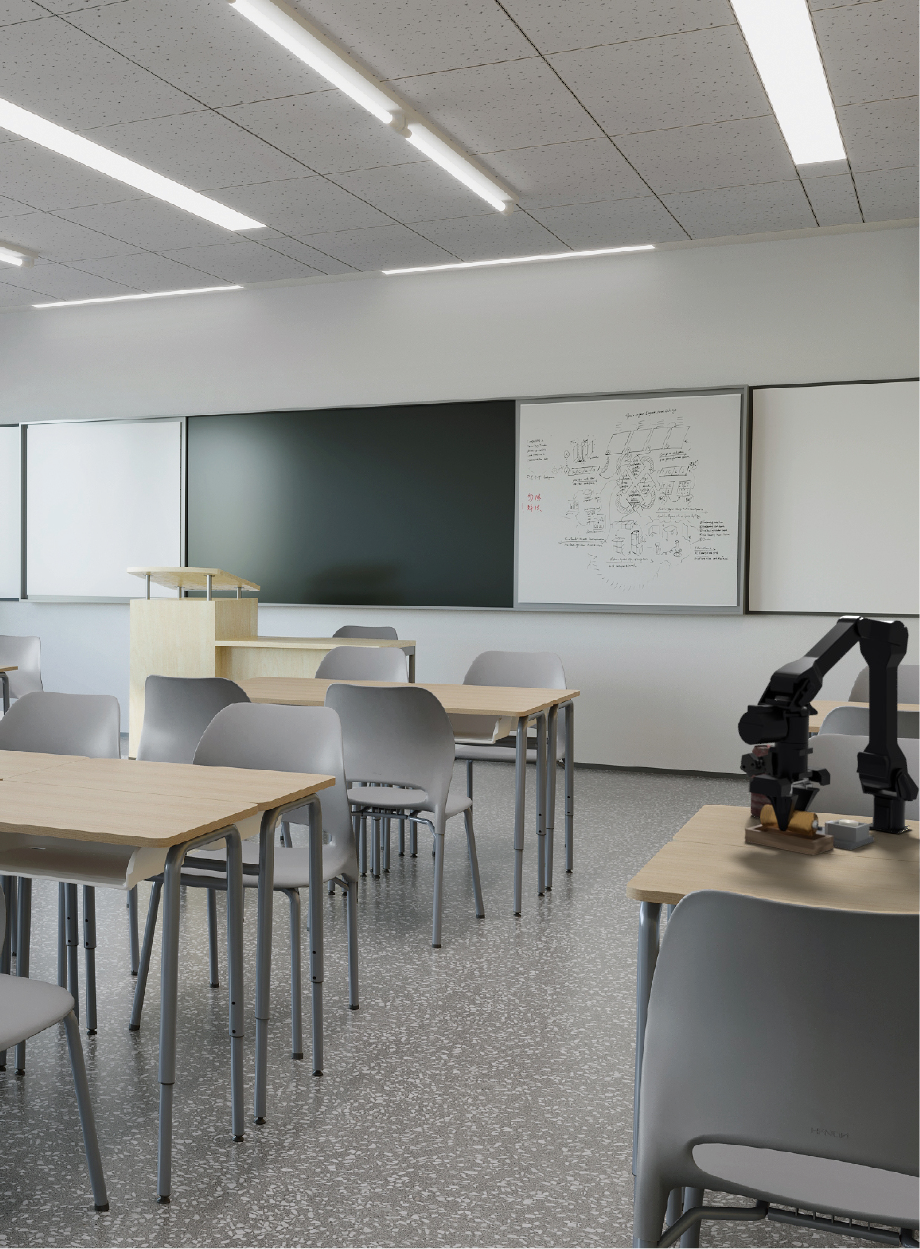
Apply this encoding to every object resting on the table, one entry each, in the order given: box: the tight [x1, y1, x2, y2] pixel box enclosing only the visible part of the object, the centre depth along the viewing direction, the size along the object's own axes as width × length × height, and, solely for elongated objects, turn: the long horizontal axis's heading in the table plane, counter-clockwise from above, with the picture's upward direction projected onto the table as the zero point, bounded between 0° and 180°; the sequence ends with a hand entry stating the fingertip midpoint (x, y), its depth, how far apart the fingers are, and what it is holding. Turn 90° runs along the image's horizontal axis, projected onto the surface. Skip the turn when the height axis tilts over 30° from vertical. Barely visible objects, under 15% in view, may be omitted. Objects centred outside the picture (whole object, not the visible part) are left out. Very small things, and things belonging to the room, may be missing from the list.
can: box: [750, 744, 774, 819], centre depth 205 cm, size 6×6×14 cm
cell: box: [759, 805, 819, 836], centre depth 182 cm, size 4×10×4 cm, turn 44°
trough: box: [744, 823, 834, 856], centre depth 182 cm, size 7×13×2 cm, turn 44°
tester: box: [816, 818, 875, 851], centre depth 189 cm, size 9×18×4 cm, turn 44°
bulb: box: [838, 819, 859, 827], centre depth 184 cm, size 3×3×2 cm
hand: (789, 829), depth 182 cm, fingers closed on cell, 4 cm apart
